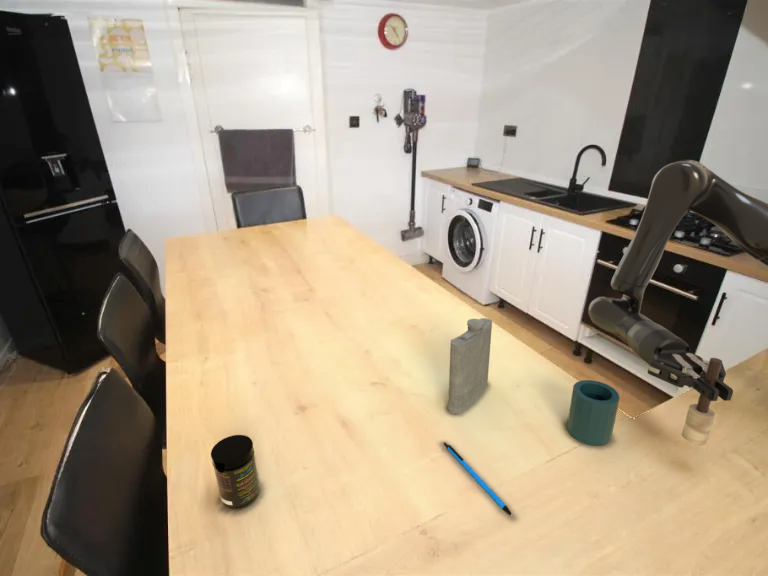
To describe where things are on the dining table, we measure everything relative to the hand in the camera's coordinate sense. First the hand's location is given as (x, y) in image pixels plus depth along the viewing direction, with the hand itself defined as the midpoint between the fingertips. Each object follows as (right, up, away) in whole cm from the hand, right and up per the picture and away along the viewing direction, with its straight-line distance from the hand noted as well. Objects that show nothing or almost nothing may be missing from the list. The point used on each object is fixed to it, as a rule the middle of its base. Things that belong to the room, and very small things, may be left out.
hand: (722, 396), depth 67 cm
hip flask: (-35, -9, +31) cm, 47 cm away
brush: (0, -9, +7) cm, 11 cm away
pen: (-39, -17, +8) cm, 43 cm away
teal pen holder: (-13, -12, +18) cm, 26 cm away
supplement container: (-81, -19, +6) cm, 83 cm away
